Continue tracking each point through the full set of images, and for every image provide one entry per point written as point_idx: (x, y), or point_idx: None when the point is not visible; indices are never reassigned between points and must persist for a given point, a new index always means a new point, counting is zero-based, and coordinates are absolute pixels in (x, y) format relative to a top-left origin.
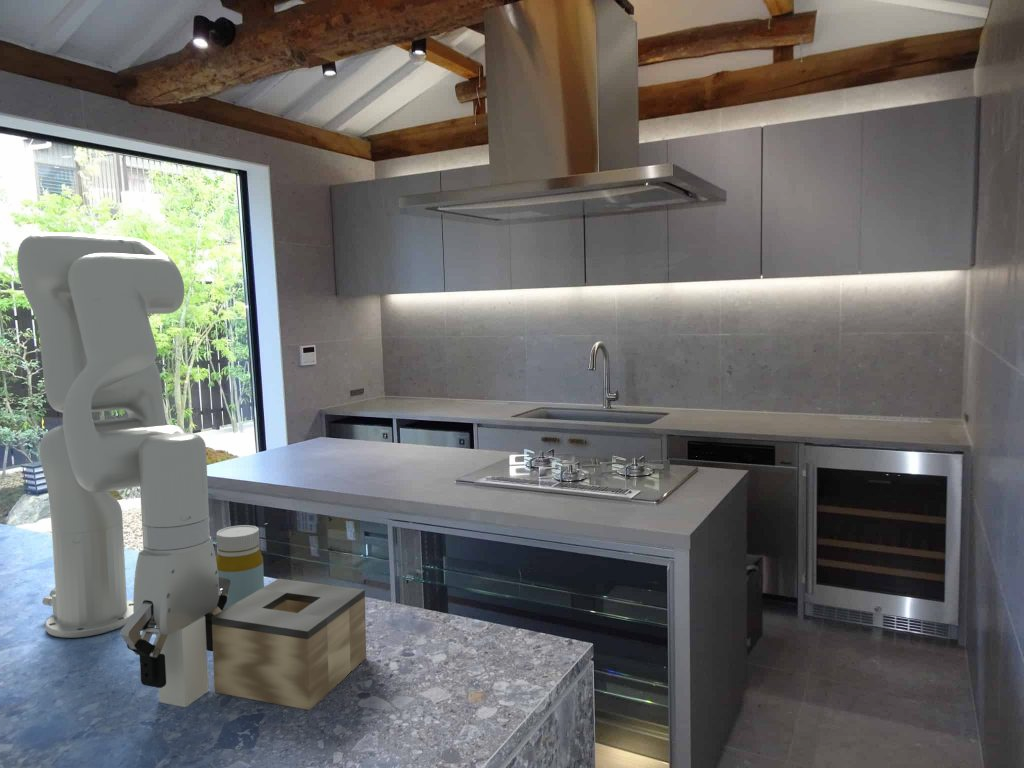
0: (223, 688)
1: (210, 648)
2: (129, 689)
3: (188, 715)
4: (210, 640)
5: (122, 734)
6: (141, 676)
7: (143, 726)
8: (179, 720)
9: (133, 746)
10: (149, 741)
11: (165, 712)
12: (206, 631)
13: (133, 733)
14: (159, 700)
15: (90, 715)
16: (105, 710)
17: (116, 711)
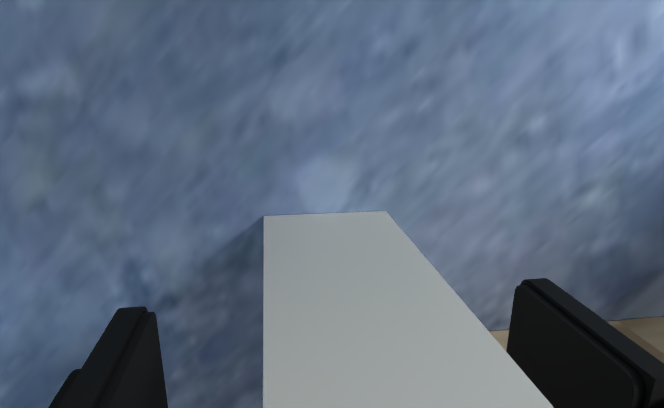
0: None
1: (514, 355)
2: (302, 11)
3: (231, 368)
4: (540, 385)
5: (36, 264)
6: (66, 380)
7: (112, 290)
8: (195, 366)
9: (5, 354)
10: (55, 375)
11: (216, 289)
12: (576, 403)
13: (61, 294)
14: (264, 218)
15: (65, 20)
16: (126, 53)
17: (142, 108)
